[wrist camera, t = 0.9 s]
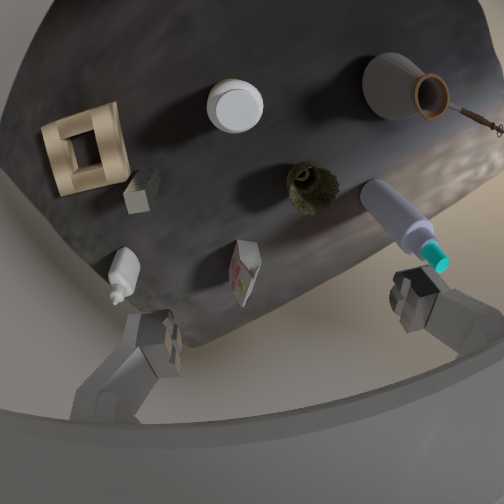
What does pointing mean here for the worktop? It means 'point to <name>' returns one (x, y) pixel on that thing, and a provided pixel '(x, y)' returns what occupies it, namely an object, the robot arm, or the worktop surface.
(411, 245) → the spray bottle
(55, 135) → the tan square ring
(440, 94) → the coffee pot
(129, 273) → the eye dropper bottle
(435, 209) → the worktop surface
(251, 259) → the white and red box
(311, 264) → the worktop surface
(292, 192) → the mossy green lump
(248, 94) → the supplement bottle
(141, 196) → the metal peg
